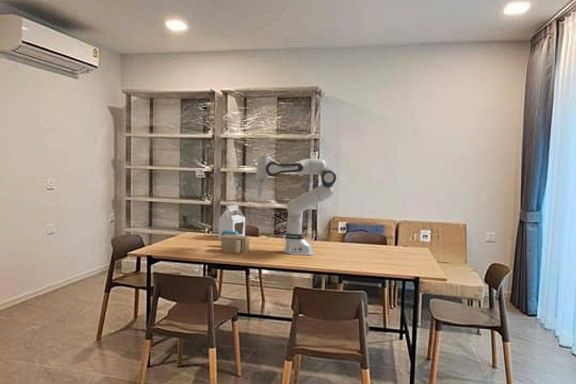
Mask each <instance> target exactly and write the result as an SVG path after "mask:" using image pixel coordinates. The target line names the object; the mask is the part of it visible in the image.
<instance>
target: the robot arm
mask: <svg viewBox="0 0 576 384" xmlns="http://www.w3.org/2000/svg"><path fill="white" fill-rule="evenodd" d="M283 173H285V174H287V173H297V174H303V175H314V174H315V175H319V176H320V178H321V184H320V185H319V186H317V187H315V188H312V189H311V190H308V191H306V192H305V193H303V194H301V195H299V196H297V197H295V198H294V199H291V200H289V201H288V203H287V204H286V211H287V212H288V213H287V219H286V220H287V221H286V233H285V247H284V250H283V253H285V254H288V255H290V256H291V255H292V256H295V255H296V256H313V255H315V250H313V249H312V248H313V247H312V245H311V243H310V242H308V240H306V239H305V234H304V233H303V219H304V217H303V216H304V212H305V211H308V210H309V209H311V208H313V207H314V206H317V205H318V204H320V203H322V202H324V201H326V200H328V199H329V198H331V197H332V196H333V195H334V192H335V191H334V188H333V185H334V184H335V182H336V181H337V178H338V175H337V173H336V172H335V170H334V169H331V168H329V167H328V166H327V163H326V160H324V159H323V158H322V159H320V158H306V159H305V158H304V159H301V160H298V161H297V162H296V161H295V162H292V163H279V162H278V161H276V160H274V159H273V158H271V156H268V155H260V156H259V157H258V159H257V166H256V172H255V177H254V178H255V180H256V183H257V197H258V198H261V195H262V192H263V190H264V185H265V183H266V182H267V181H268V178H269V176H270V177H276V176H278V175H279V174H283Z"/></svg>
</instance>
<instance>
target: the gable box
mask: <svg viewBox="0 0 576 384" xmlns="http://www.w3.org/2000/svg"><path fill="white" fill-rule="evenodd" d="M231 212H233V214H231ZM225 230H227V231H237V232H238V235H241V236H246V216H245V215H244V214H243V211H242V210H241V209H240V206H238V204H235V205H227V208H226V209H225V210H224V211H223V213H222V214H221V216H220V217H219V219H218V240H220V241H221V239H222V238H221V236H222V232H223V231H225Z"/></svg>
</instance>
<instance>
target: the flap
mask: <svg viewBox="0 0 576 384" xmlns="http://www.w3.org/2000/svg"><path fill="white" fill-rule="evenodd" d="M240 251H242V239H239V240H237V241H236V253H235V254H240V253H239V252H240Z"/></svg>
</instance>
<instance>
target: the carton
mask: <svg viewBox="0 0 576 384" xmlns="http://www.w3.org/2000/svg"><path fill="white" fill-rule="evenodd" d="M221 238H222V239H221V240H220V241H221V242H220V244H221V245H220V247H221V248H220V249H221V250H220V252H221V253H231V254H233V253H235V254H237V253H236V241H237V240H239V239H242V251H240V252H239V253H238V254H244V255H245V254H247V253H248V252H249V250H250V235H245V236H241V235H227V234H226V235H223V236H221Z"/></svg>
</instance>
